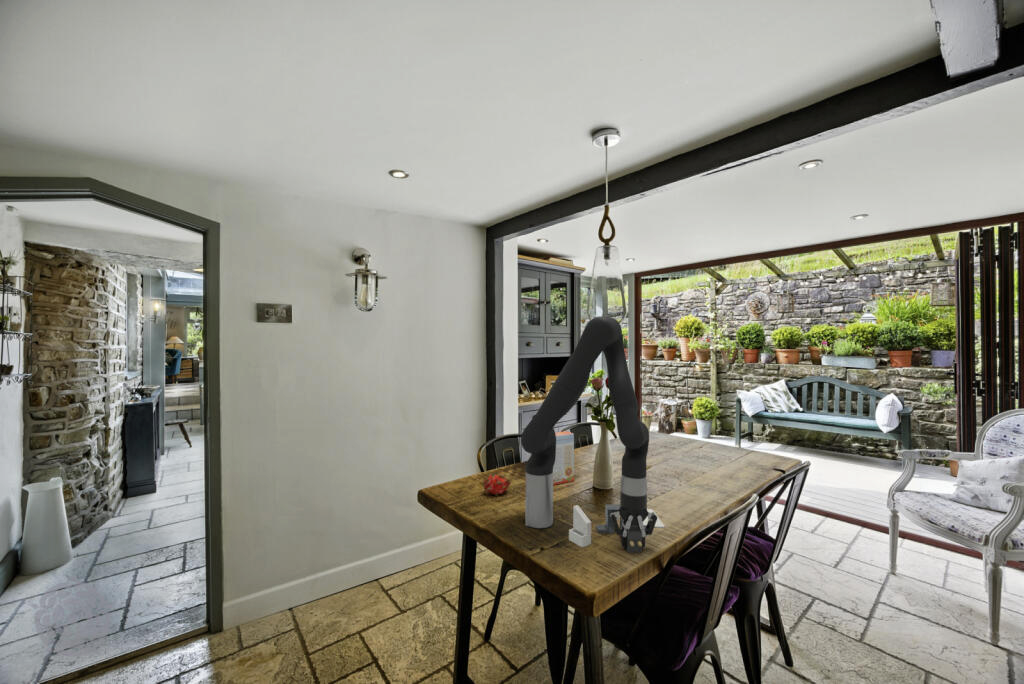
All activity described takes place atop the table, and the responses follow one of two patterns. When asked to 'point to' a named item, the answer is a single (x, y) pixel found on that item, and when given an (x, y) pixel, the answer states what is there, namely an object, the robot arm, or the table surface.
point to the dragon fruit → (496, 484)
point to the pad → (658, 522)
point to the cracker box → (564, 458)
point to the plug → (633, 538)
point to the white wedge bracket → (580, 528)
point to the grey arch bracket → (608, 520)
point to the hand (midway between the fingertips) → (632, 547)
